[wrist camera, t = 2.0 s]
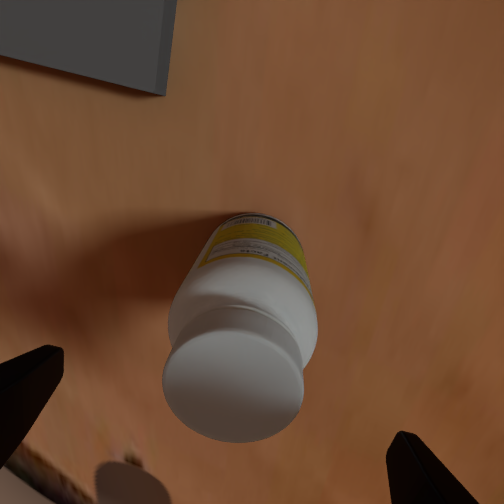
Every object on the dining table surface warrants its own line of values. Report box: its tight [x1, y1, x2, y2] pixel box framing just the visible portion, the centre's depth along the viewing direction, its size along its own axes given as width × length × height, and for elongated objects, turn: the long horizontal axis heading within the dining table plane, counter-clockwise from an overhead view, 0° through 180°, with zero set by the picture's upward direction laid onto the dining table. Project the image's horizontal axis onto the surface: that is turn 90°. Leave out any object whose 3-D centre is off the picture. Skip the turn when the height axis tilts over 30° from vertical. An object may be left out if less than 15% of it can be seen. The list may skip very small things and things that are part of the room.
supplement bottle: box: [162, 213, 318, 443], centre depth 14 cm, size 5×5×10 cm
